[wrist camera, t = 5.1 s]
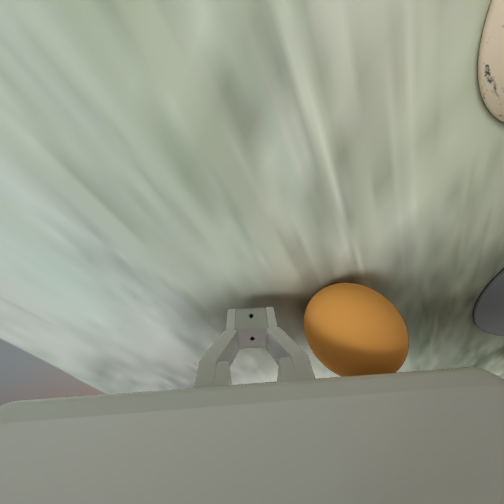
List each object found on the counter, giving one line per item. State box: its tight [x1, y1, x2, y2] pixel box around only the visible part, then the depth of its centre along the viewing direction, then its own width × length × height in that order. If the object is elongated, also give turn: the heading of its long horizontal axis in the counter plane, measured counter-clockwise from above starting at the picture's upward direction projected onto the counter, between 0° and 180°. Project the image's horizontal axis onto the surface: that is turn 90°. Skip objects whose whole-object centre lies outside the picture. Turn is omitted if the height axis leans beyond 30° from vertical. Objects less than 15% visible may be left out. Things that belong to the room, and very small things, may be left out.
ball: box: [304, 283, 409, 377], centre depth 11 cm, size 6×6×6 cm
